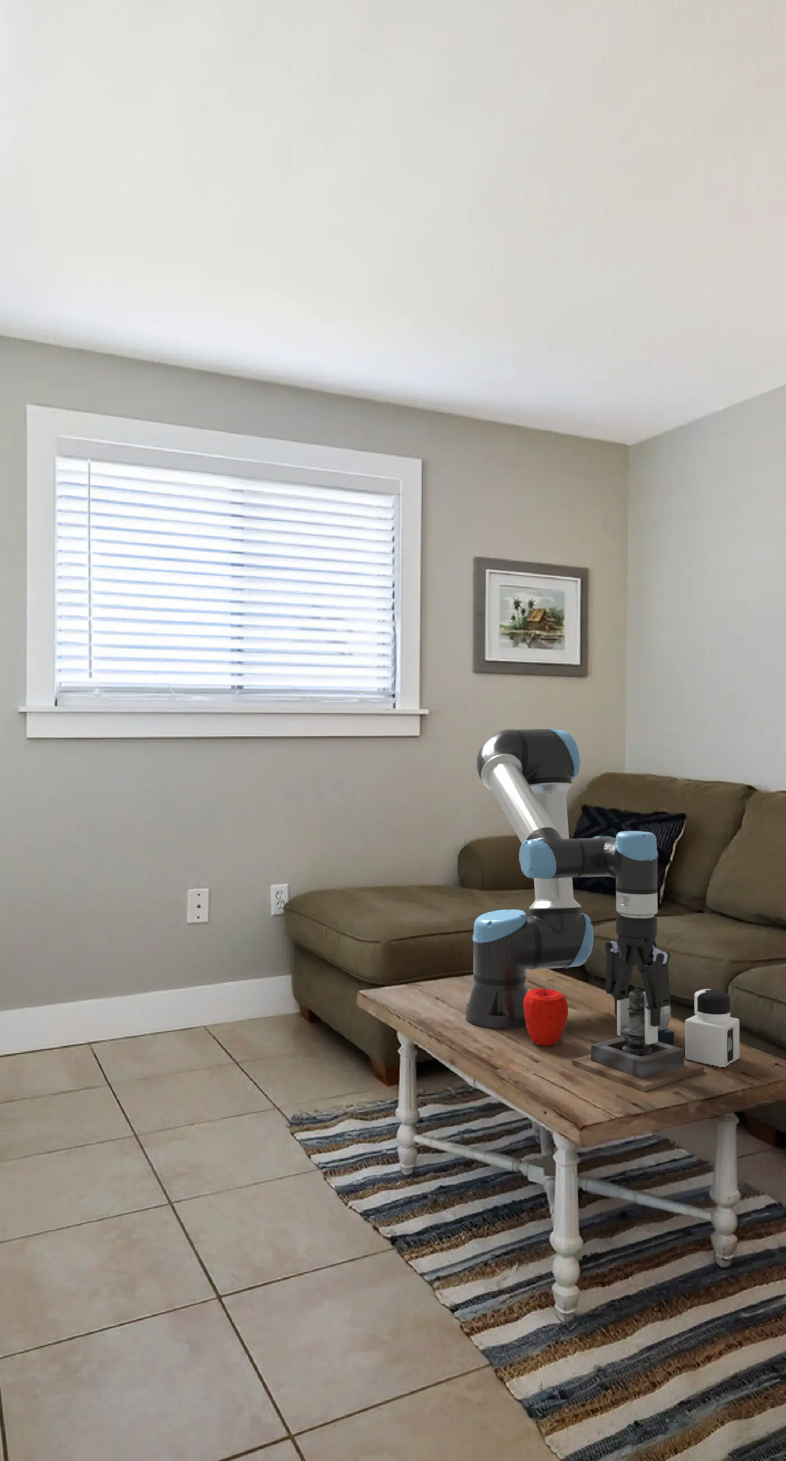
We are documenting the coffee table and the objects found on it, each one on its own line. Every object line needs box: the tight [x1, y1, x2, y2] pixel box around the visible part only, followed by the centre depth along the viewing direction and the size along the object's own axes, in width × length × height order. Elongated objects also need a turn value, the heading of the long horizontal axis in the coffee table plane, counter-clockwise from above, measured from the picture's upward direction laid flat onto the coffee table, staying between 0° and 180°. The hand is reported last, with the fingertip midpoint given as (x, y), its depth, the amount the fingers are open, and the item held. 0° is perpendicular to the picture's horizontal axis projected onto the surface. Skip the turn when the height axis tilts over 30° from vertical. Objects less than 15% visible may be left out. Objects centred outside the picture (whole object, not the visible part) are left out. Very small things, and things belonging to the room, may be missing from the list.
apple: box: [523, 988, 569, 1047], centre depth 194 cm, size 9×9×11 cm
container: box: [684, 988, 740, 1068], centre depth 184 cm, size 8×8×13 cm
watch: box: [642, 990, 675, 1046], centre depth 192 cm, size 6×8×11 cm
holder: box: [571, 1035, 705, 1092], centre depth 178 cm, size 17×17×4 cm
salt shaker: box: [621, 984, 652, 1054], centre depth 178 cm, size 6×6×12 cm
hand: (637, 1038), depth 178 cm, fingers closed on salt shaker, 6 cm apart
